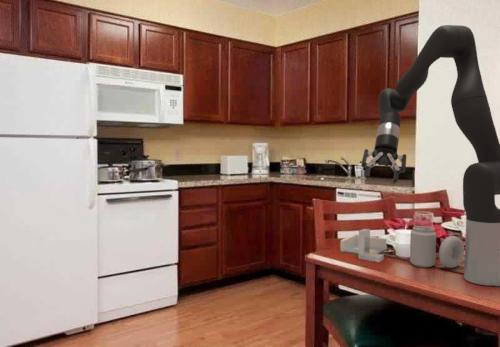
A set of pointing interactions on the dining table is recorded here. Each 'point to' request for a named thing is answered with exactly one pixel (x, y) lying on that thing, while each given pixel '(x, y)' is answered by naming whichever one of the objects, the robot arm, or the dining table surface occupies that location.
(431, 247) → the can
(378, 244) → the walls
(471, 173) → the robot arm
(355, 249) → the base plate
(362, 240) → the bracket
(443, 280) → the dining table surface
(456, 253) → the donut
